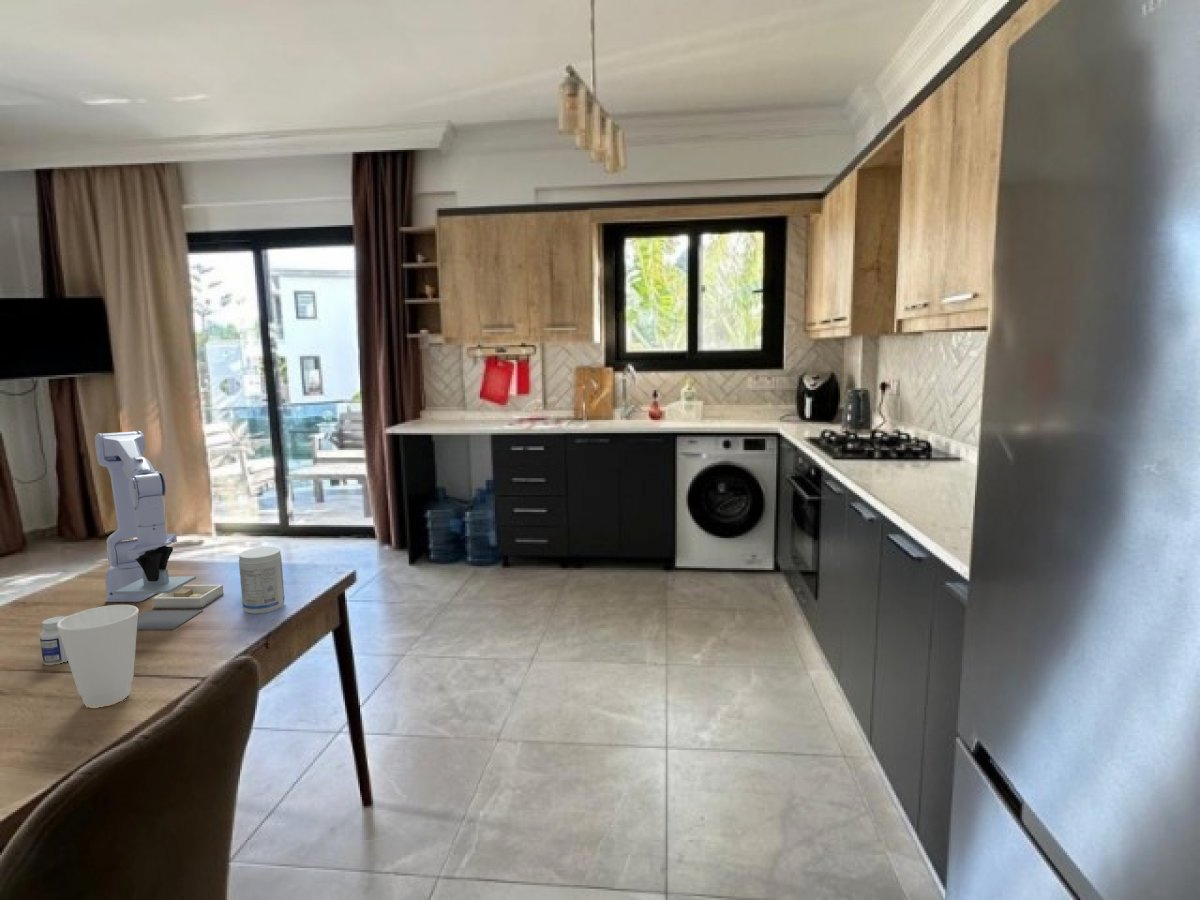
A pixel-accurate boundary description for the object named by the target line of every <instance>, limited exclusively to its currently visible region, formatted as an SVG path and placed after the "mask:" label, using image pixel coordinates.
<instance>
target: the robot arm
mask: <svg viewBox="0 0 1200 900" xmlns="http://www.w3.org/2000/svg"><path fill="white" fill-rule="evenodd" d="M94 446H95V455H96V460H97V462H98V465H99V466H101V467H104V468H107V471H108V472H109V473H108V474H109V477H110V482H111V490H112V498H113V503H114V510H115V511H114V512H115V517H116V518H115V519H116V524H117V529H116V530H114V532H112V534H110V535H109V536H108V537H107V539H106V558H107V562H108V564H109V567H108V568H107V570H106V572H105V576H104V581H105V591H106V599H104V601H105V602H106V603H109V602H110V603H112V602H113V603H114V602H115V603H116V602H117V603H118V602H119V603H124V602H125V603H127V602H128V603H131V602H133V603H136V602H137V603H138V602H140V603H141V602H143V601H145V600H147V599H149V598H151V597H153V596H154V595H156V594H157V593H153V594H115V591H117V590H119V589H121V588H123V587H125V586H127V585H129V584H131V583H134V582H136V581H138V580H140V579H142V578H143V573H142V572H143V571H144V573H145V575H146V578H147V580H148V581H158V579H159V570H167V565H168V562H169V559H170V558H171V554H172V553H173V551H174V548H173V546H170V545H172V544H173V543H177V542H178V537H177V533H168V534H167V527H166V526H167V525H166V516H165V514H166V512H165V506H164V505H165V504H164V502H165V501H164V497H165V496H166V492H167V489H166V488H167V485H166V480H165V476H164V474H163V473H162V471H156V470H155V469H154V466H153V465H152V463H151V461H150V460H149V459H148V458H146V457H144V454H145V452H146V448H147V447H146V439H145V435H144V433H143V432H142V431H140V430H136V431H122V432H121V431H119V432H105V433H101V432H98V433H96V435H95V436H94ZM134 538H136V539H134ZM128 539H129V540H128ZM122 540H124V541H122Z"/></svg>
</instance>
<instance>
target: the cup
mask: <svg viewBox="0 0 1200 900" xmlns="http://www.w3.org/2000/svg"><path fill="white" fill-rule="evenodd" d="M139 612H140V611H139V608H138V607H137V606H135V605H133V604H132V605H131V604H112V605H104V606H103V605H102V606H98V607H97V606H96V607H93V608H89V609H85V610H81V611H78V612H74V613H72V614H69V615H68V616H65V618H63V619H62V620H60V621H59V622H58V624H57V628H58V630H59V633H60V636H61V640H62V643H63V646H64V649H65V652H66V655H67V659H68V665H69V667H70V671H71V674H72V677H73V681H74V683H75V687H76V690H77V693H78V695H79V696H81V698H82V702H83V705H84V704H85V705H87V706H101V705H106V704H110V703H114V702H117V701H120V700H122V699H123V698H125V697H127V696H128V695H129V694H130V692H131V693H132V683H133V681H134V673H135V659H136V647H137V646H136V643H137V634H138V633H137V632H138V630H137V619H138V616H139ZM130 695H131V694H130Z"/></svg>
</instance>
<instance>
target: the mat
mask: <svg viewBox="0 0 1200 900" xmlns="http://www.w3.org/2000/svg"><path fill="white" fill-rule="evenodd" d="M200 612H201V613H203V612H204V610H203V609H201V610H200V609H193V610H192V609H178V610H177V609H171V610H170V609H168V610H167V609H165V610H164V609H162V610H161V609H160V610H159V609H158V610H155V609H154V610H153V609H149V610H146V611H145V612H143V613H140V614H138V619H137V631H174V630H175V629H177V628H179V627H180V626H182V625H184V624H185V623H187V622H188V621H190V620H191V619H193V618H194V616H195V617H196V616H198V615H199V614H201V613H200ZM197 614H198V615H197ZM178 626H179V627H178ZM173 629H174V630H173Z"/></svg>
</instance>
